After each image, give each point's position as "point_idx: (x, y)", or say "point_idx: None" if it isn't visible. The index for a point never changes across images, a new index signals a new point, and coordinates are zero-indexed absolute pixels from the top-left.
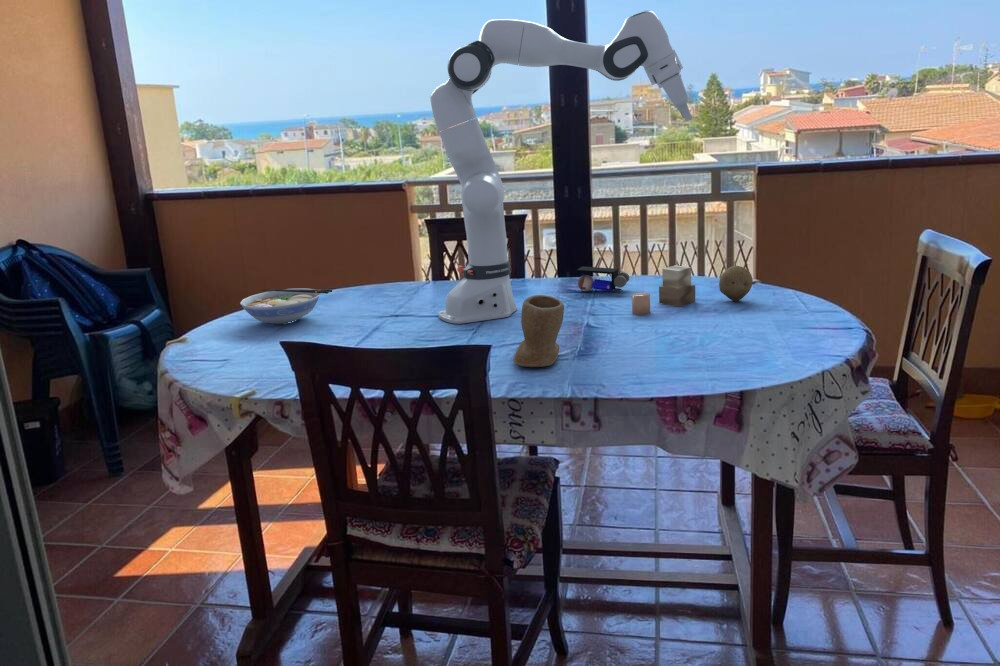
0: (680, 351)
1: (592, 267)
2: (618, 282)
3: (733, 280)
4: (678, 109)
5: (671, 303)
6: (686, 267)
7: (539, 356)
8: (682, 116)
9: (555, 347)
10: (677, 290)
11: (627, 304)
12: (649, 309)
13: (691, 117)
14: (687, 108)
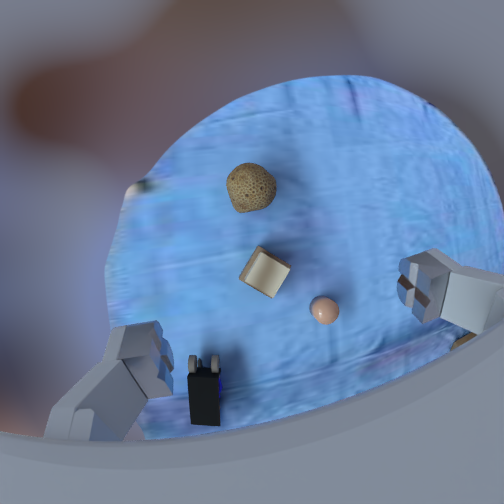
0: (444, 234)
1: (192, 410)
2: (218, 365)
3: (273, 186)
4: (129, 428)
5: None
6: (262, 260)
7: None
8: (171, 369)
9: (468, 338)
10: (289, 267)
11: (280, 334)
12: (324, 296)
13: (435, 251)
14: (500, 279)
